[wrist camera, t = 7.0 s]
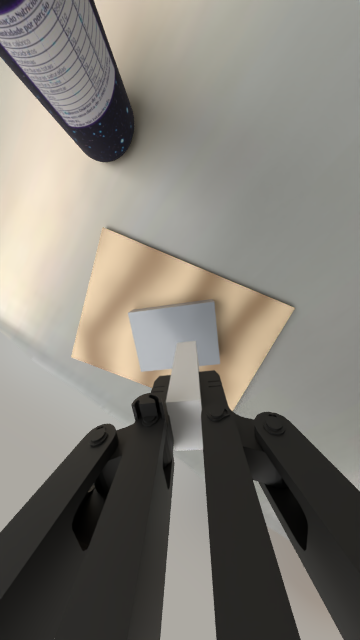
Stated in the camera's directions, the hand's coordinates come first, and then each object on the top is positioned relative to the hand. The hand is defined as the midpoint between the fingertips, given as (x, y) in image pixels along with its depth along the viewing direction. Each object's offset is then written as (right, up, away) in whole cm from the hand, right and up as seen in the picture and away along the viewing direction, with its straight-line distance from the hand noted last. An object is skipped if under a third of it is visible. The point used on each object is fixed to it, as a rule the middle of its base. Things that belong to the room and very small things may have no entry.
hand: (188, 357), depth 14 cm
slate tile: (+3, +2, +5) cm, 6 cm away
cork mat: (-1, +1, +7) cm, 7 cm away
